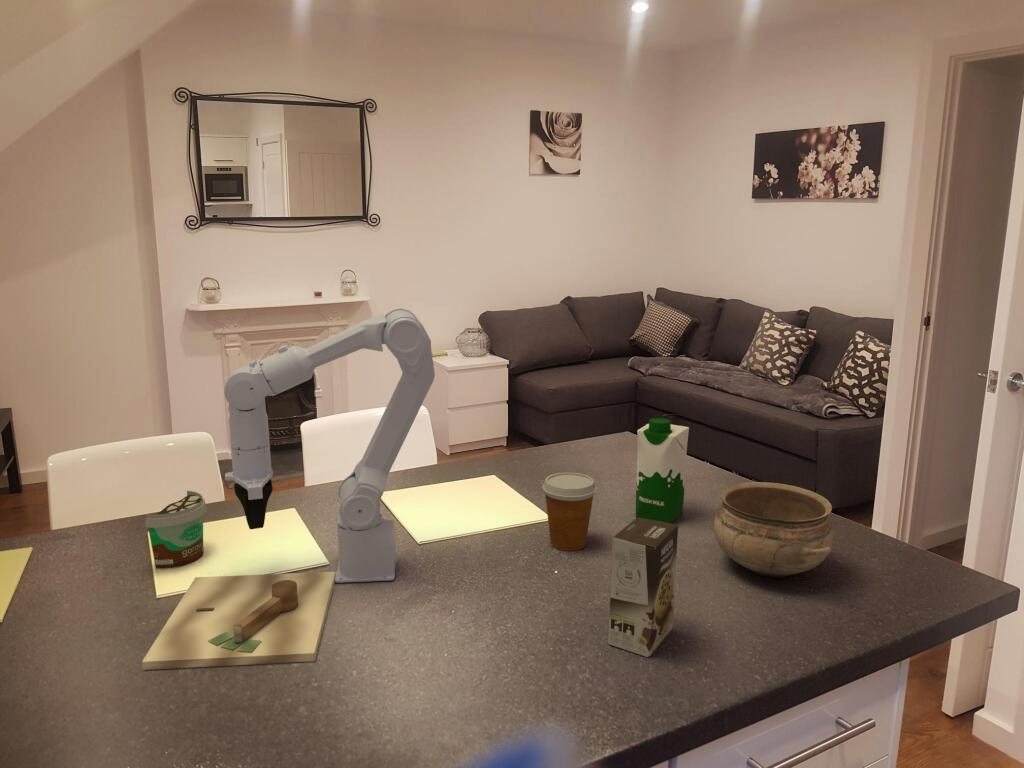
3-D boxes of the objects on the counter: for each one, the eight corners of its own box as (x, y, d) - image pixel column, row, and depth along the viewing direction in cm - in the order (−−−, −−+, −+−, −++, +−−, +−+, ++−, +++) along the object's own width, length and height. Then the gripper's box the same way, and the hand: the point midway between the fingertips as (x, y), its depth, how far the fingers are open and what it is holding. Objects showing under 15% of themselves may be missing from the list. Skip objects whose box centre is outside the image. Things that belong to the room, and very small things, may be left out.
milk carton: (629, 519, 153) (633, 419, 149) (647, 504, 161) (651, 409, 156) (672, 529, 149) (677, 426, 144) (689, 513, 156) (694, 416, 152)
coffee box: (650, 659, 106) (655, 547, 102) (606, 645, 109) (610, 536, 106) (674, 629, 113) (680, 524, 110) (633, 616, 117) (637, 514, 113)
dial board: (335, 578, 128) (335, 570, 128) (314, 661, 105) (314, 651, 105) (196, 584, 126) (195, 576, 126) (142, 670, 103) (141, 660, 103)
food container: (183, 576, 129) (178, 518, 127) (150, 572, 130) (143, 515, 128) (224, 544, 141) (220, 492, 139) (193, 541, 142) (188, 489, 140)
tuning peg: (282, 597, 119) (281, 578, 118) (302, 601, 118) (301, 582, 117) (225, 641, 107) (223, 619, 106) (247, 646, 106) (245, 624, 105)
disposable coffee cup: (534, 549, 139) (534, 485, 137) (551, 529, 148) (552, 468, 145) (585, 558, 136) (587, 493, 133) (600, 537, 144) (602, 475, 142)
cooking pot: (680, 547, 141) (683, 482, 138) (767, 532, 147) (772, 470, 144) (771, 613, 118) (777, 537, 115) (870, 593, 124) (878, 520, 122)
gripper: (222, 434, 127) (228, 513, 130) (223, 461, 114) (230, 548, 117) (267, 430, 130) (272, 508, 133) (274, 456, 116) (280, 542, 119)
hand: (256, 527), depth 125 cm, fingers closed
